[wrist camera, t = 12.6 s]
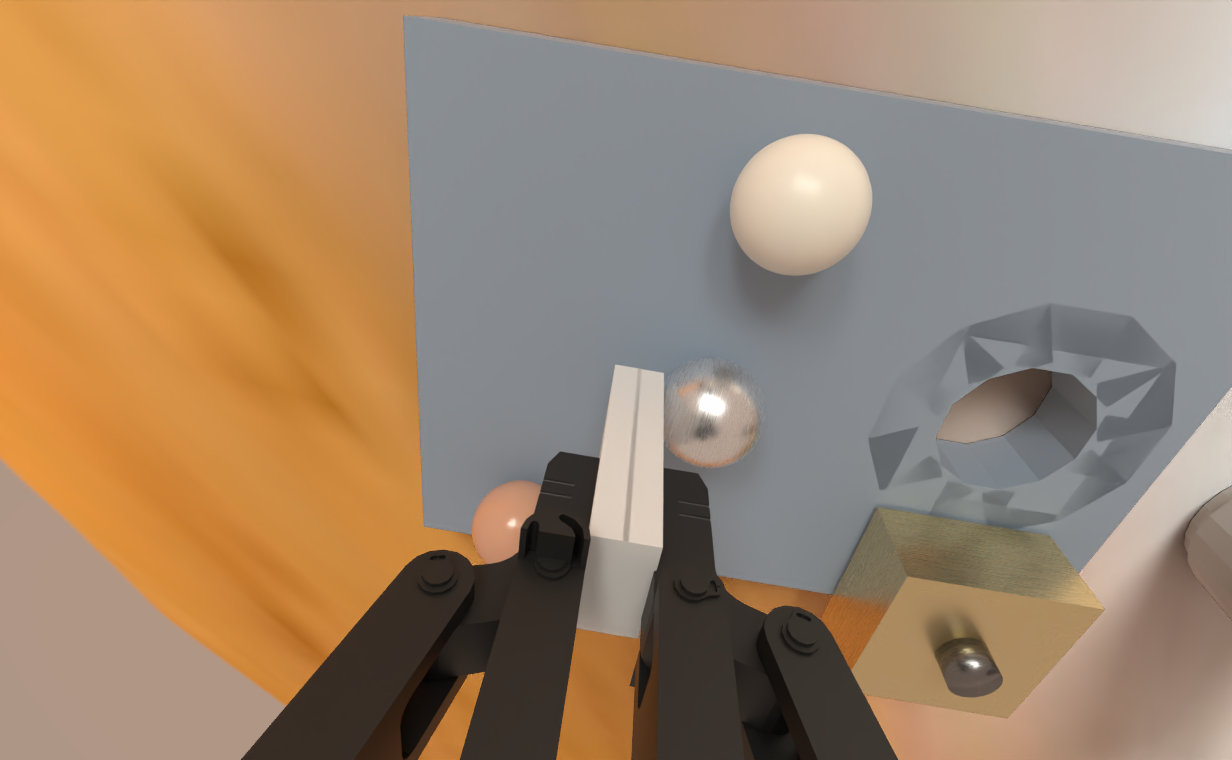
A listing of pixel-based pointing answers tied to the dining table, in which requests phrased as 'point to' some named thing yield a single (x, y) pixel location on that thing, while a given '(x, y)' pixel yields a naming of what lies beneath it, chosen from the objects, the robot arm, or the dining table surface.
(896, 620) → the brass cover
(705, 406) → the steel ball
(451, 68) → the board
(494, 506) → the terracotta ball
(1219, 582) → the coffee cup
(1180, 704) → the dining table surface
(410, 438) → the dining table surface
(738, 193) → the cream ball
